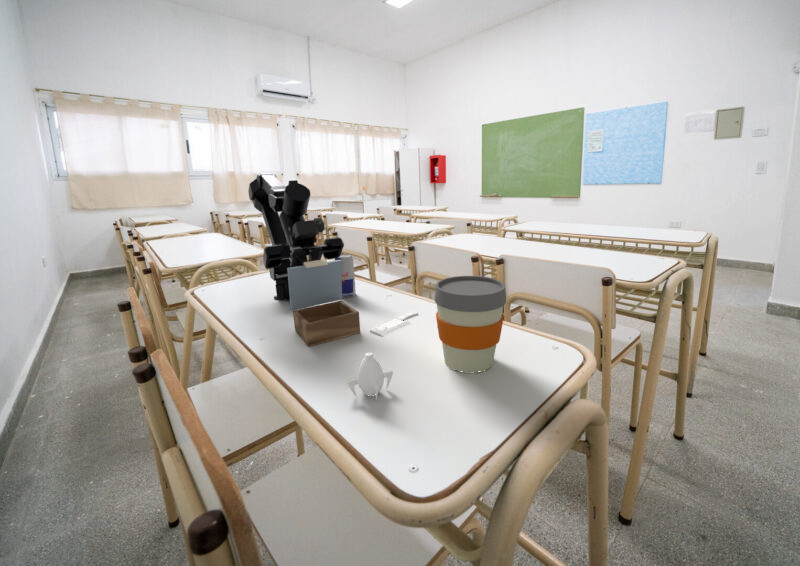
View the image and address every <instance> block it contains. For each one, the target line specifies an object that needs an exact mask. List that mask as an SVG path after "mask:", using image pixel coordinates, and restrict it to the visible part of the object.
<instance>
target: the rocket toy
mask: <svg viewBox="0 0 800 566" xmlns="http://www.w3.org/2000/svg"><path fill="white" fill-rule="evenodd" d="M364 356H365V357H364V358H363V359H362V360H361V363H360V365H359V367H358V371H357V377H356V378H353V379H350V380H348V381H347V385H348V387H349V388H350V391H351V392H352V393H353V395H354V396H355V397H357V394H356V390H355V385H358V387H359V389H360V390H361V391H360V392H362V393H363V394H364V395H366V396H367V395H369V396H373V395H375V394H376V396H375V401H376V402H377V400H378V396H379V395H378V394H379V393H380V392H381V391H382V389H383V386H384V379H386V378H387V380H386V381H387V382H386V389H387V390H388V388H389V386H390V383H391V381H392V377H393V374H394V373H393V372H394V371H392V370H389V371H388V370H387V371H383V368H382V367H381V365H380V363H379V361H378V360H377V358H376V357H375V356H374V353H372V352H366V353H365V354H364ZM369 396H368V397H369ZM373 397H374V396H373Z"/></svg>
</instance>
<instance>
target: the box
mask: <svg viewBox="0 0 800 566" xmlns="http://www.w3.org/2000/svg"><path fill="white" fill-rule="evenodd" d="M292 317H293V324H294V331H295V333H296V334H297V335H298V336H299V337H300V338H301V340H302V341H303V342H304V343H305V344H306V345H307V346H308V347H313V346H318V345H321V344H325V343H327V342H332V341H335V340H339V339H343V338H346V337H350V335H351V336H354V335H357V333H358V334H361V323H360V322H361V321H360V312H359V311H358V310H356V309H354V308H353V307H352V306H350V305H349V304H348V303H345V302H344V301H343V300H338V301H333V302H328V303H324V304H319V305H314V306H310V307H305V308H301V309H296V310H292ZM353 334H354V335H353Z"/></svg>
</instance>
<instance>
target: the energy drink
mask: <svg viewBox="0 0 800 566" xmlns="http://www.w3.org/2000/svg"><path fill="white" fill-rule="evenodd" d="M335 260H341V270H342V299H343V298H352V297H354V296H355V295H356V292H357V291H356V281H355V280H356V279H355V266H354V263H355V262H354V257H353V255H352V254H349V253H345V254H343V253H341V255H340V257H338V258H334V261H335Z"/></svg>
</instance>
